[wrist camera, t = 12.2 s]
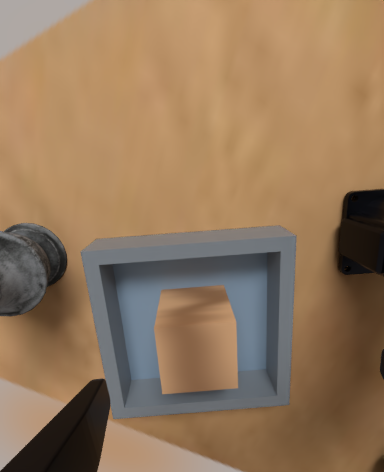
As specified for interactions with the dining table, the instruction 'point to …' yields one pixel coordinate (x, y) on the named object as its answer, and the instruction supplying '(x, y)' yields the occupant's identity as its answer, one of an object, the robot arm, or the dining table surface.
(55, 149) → the dining table surface
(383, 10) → the dining table surface
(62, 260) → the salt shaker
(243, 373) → the low wall corral
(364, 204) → the robot arm
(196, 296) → the light brown block
